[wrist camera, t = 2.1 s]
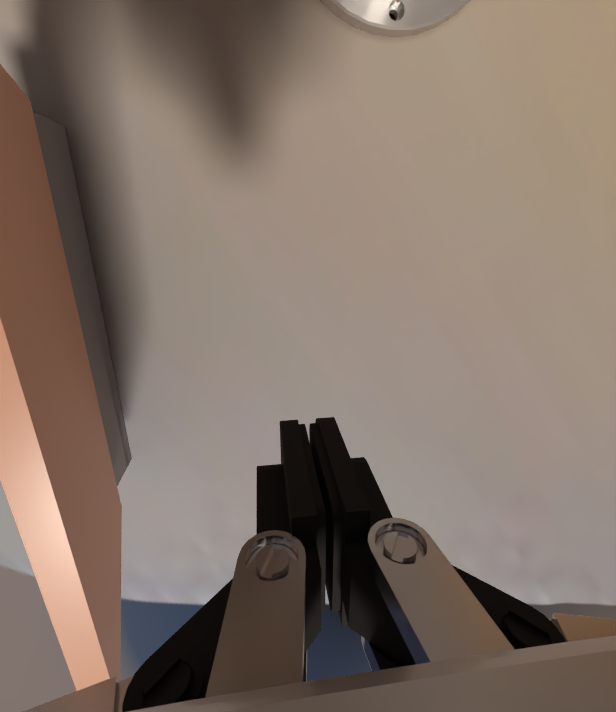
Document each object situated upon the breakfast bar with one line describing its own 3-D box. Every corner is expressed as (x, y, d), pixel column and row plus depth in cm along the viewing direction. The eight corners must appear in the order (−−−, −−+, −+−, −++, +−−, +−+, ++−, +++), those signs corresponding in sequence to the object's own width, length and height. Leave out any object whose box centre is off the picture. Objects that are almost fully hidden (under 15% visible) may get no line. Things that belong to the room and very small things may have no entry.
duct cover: (-211, -105, 6) (-122, -84, 6) (1, 97, 15) (30, 100, 16) (89, 726, 13) (120, 711, 14) (104, 511, 23) (121, 506, 24)
